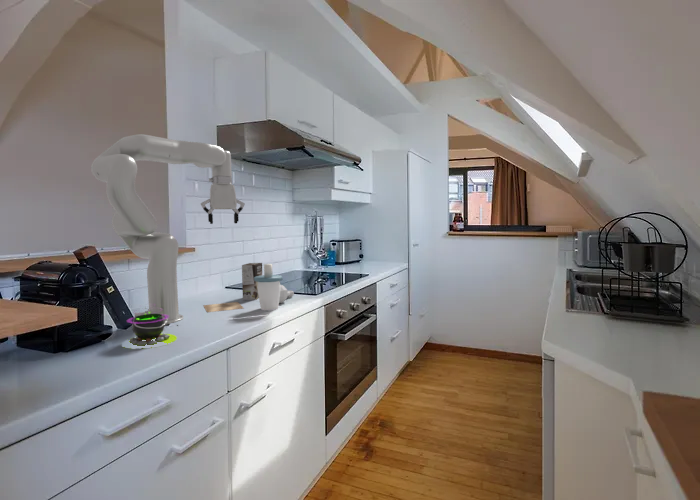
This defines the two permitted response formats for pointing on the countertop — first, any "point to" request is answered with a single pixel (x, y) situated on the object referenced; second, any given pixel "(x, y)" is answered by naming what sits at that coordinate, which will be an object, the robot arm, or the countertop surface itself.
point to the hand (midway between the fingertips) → (223, 223)
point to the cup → (269, 295)
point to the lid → (268, 275)
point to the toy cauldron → (150, 329)
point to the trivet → (222, 307)
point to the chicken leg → (284, 294)
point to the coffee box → (250, 280)
